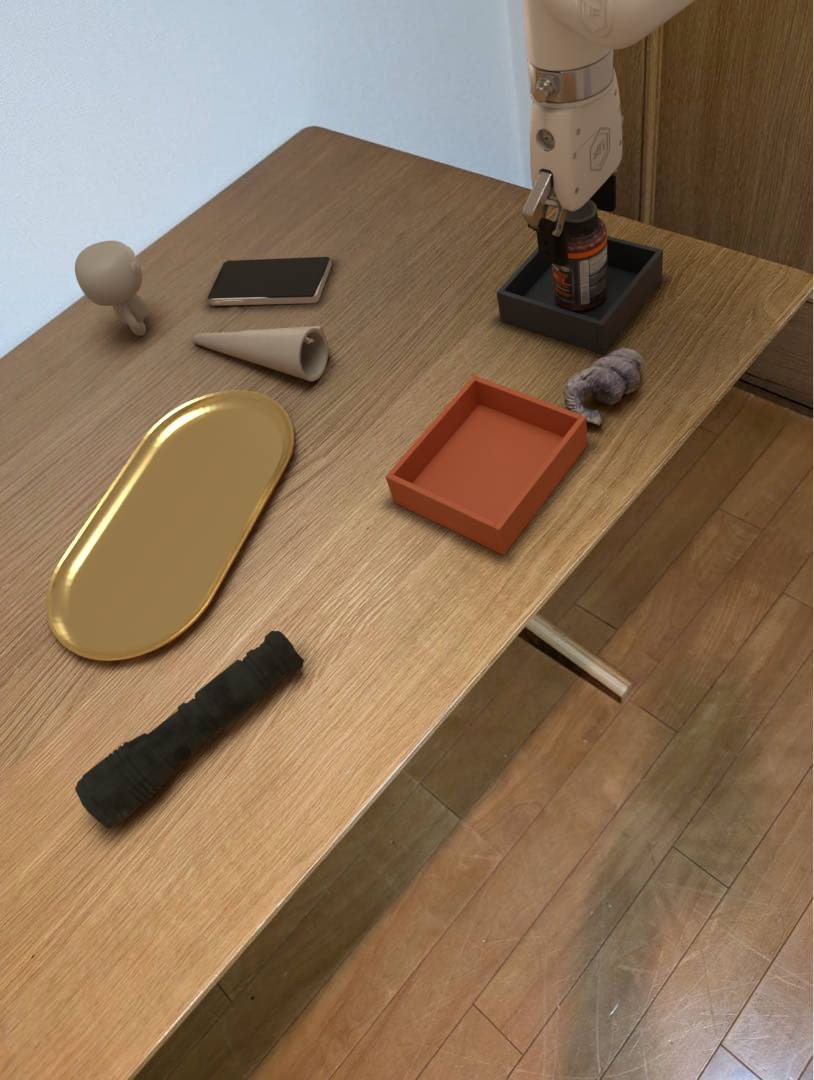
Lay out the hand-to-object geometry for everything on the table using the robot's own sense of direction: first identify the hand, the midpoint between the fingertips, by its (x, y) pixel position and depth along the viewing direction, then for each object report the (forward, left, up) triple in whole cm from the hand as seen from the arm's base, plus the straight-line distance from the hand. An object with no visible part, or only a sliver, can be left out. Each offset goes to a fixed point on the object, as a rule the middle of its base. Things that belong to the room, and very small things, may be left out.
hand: (578, 234), depth 90 cm
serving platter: (+21, +46, -9) cm, 52 cm away
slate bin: (0, 0, -9) cm, 9 cm away
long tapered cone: (+30, +25, -9) cm, 40 cm away
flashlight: (+1, +62, -9) cm, 63 cm away
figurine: (+49, +27, -9) cm, 57 cm away
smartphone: (+38, +13, -9) cm, 41 cm away
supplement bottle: (0, 0, -8) cm, 8 cm away
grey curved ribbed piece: (-10, +12, -9) cm, 18 cm away
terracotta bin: (-5, +26, -9) cm, 28 cm away
